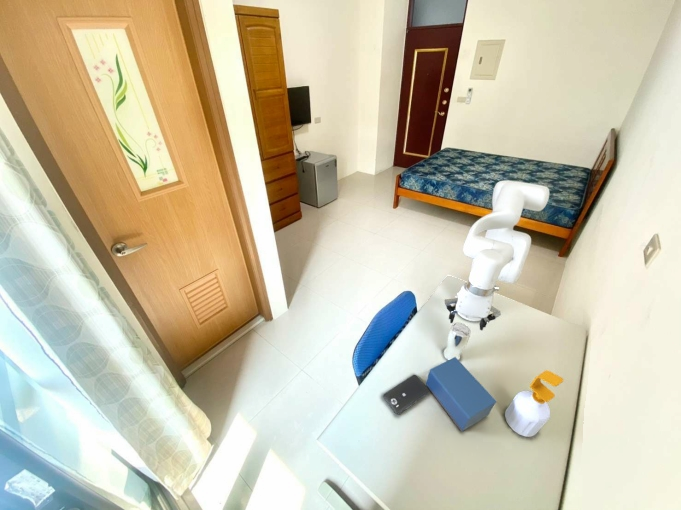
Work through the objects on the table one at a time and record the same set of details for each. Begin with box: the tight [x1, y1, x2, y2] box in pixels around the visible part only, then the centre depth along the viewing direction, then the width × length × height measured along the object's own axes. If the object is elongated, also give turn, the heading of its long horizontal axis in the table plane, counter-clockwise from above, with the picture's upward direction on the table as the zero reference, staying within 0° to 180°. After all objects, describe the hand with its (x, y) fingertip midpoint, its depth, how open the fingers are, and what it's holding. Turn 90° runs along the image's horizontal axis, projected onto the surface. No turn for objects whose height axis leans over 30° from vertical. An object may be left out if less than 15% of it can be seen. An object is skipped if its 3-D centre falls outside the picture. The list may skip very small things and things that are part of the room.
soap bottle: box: [504, 369, 564, 438], centre depth 81 cm, size 9×9×25 cm
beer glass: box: [443, 321, 472, 361], centre depth 104 cm, size 7×7×15 cm
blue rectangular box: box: [425, 357, 497, 432], centre depth 91 cm, size 17×11×10 cm, turn 25°
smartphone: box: [382, 374, 430, 416], centre depth 95 cm, size 8×15×1 cm, turn 121°
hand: (465, 323), depth 97 cm, fingers open, 9 cm apart
